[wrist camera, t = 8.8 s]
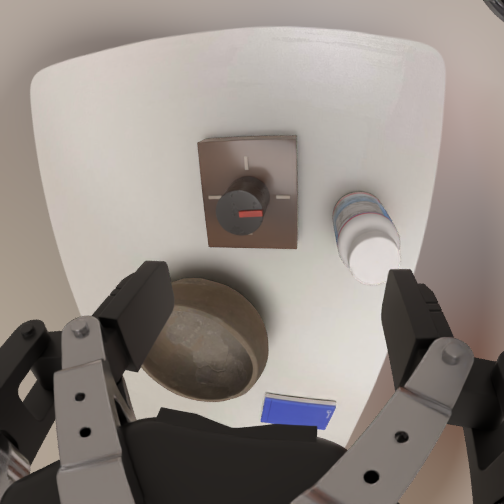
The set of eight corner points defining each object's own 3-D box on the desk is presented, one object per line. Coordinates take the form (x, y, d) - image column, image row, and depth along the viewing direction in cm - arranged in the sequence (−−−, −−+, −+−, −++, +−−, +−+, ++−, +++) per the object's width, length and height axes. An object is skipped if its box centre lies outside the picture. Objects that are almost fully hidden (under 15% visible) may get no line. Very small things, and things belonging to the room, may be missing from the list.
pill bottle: (381, 239, 36) (403, 292, 26) (331, 239, 37) (338, 293, 28) (385, 190, 34) (414, 230, 24) (332, 189, 35) (342, 229, 25)
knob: (230, 217, 35) (218, 238, 30) (225, 178, 33) (211, 192, 28) (271, 215, 34) (265, 236, 29) (267, 174, 32) (260, 189, 27)
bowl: (133, 280, 45) (99, 322, 36) (240, 242, 40) (221, 287, 31) (190, 363, 51) (171, 409, 43) (291, 343, 46) (285, 396, 37)
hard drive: (336, 407, 49) (265, 399, 51) (324, 430, 53) (260, 422, 55) (336, 400, 51) (266, 392, 52) (324, 424, 55) (261, 416, 56)
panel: (205, 138, 34) (196, 142, 31) (296, 135, 33) (295, 139, 30) (215, 236, 40) (208, 247, 37) (297, 237, 38) (296, 249, 35)
